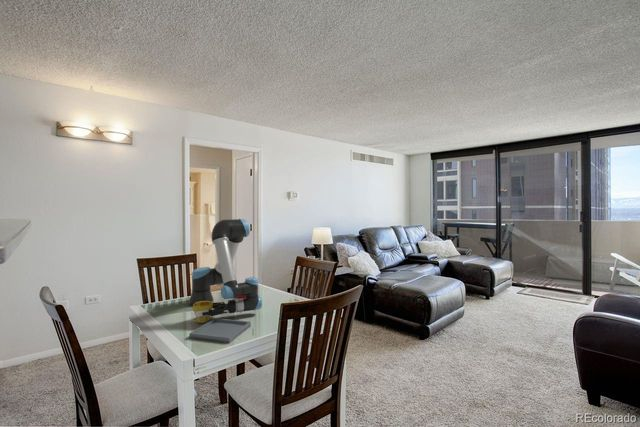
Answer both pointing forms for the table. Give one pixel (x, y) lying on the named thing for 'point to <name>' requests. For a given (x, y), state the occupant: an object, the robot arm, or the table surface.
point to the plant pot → (202, 307)
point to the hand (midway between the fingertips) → (194, 311)
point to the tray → (220, 330)
